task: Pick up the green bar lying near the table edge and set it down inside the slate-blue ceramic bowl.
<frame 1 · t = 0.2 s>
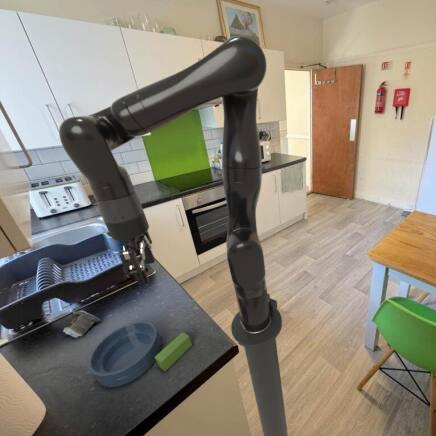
hand: (147, 272, 60), 28 cm above the counter, tool pointing down, fingers open, 8 cm apart
crumpled grey bag: (79, 328, 79), on the counter
bowl: (131, 358, 69), on the counter
bar: (176, 355, 69), on the counter
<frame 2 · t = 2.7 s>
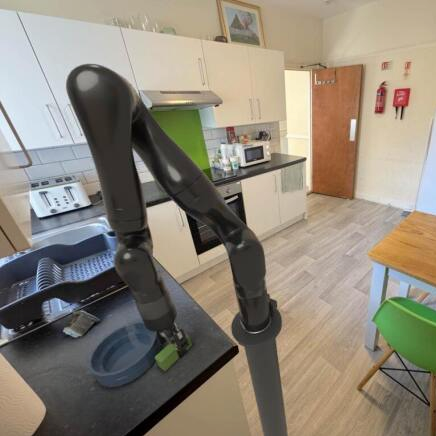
hand: (173, 348, 68), 3 cm above the counter, tool pointing down, fingers open, 8 cm apart
nothing on the counter moved.
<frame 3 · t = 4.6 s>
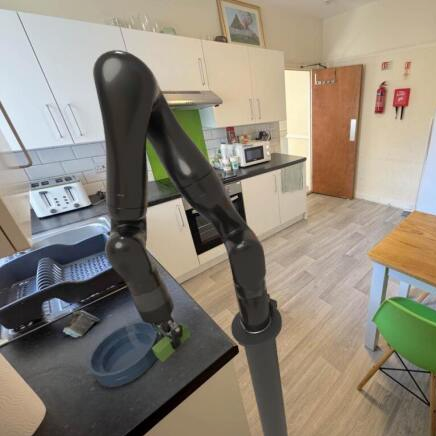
hand: (173, 343, 67), 5 cm above the counter, tool pointing down, fingers closed on bar, 3 cm apart
bar: (174, 345, 67), point 4 cm above the counter, touching gripper
everything else where it was.
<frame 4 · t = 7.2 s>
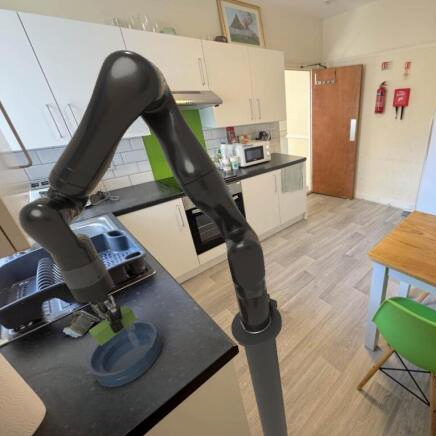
hand: (115, 327, 63), 13 cm above the counter, tool pointing down, fingers closed on bar, 3 cm apart
bar: (117, 329, 63), point 12 cm above the counter, touching gripper
everything else where it was.
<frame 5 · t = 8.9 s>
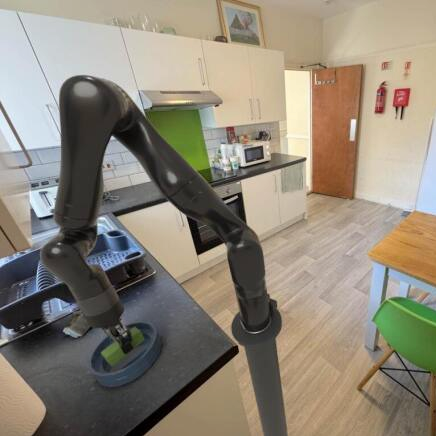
hand: (125, 348, 67), 4 cm above the counter, tool pointing down, fingers closed on bar, 3 cm apart
bar: (126, 350, 67), point 3 cm above the counter, touching gripper
everything else where it was.
when the fingers open (2 cm above the counter, at t = 9.9 s): bar stays where it is, resting on bowl.
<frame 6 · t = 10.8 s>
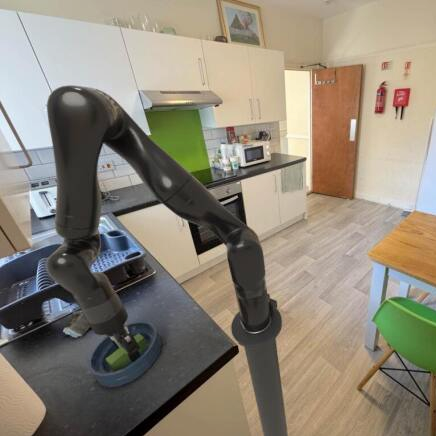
hand: (127, 351, 68), 3 cm above the counter, tool pointing down, fingers open, 8 cm apart
bar: (130, 356, 69), point 1 cm above the counter, touching bowl
everything else where it was.
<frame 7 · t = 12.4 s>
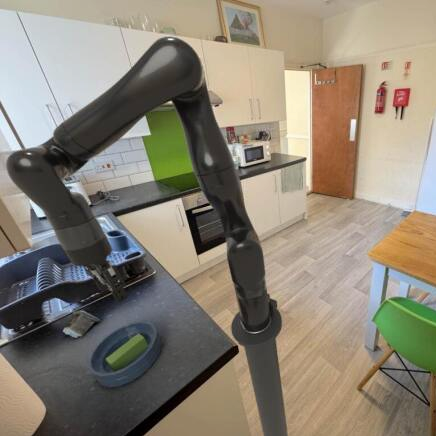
hand: (113, 294, 60), 23 cm above the counter, tool pointing down, fingers open, 8 cm apart
nothing on the counter moved.
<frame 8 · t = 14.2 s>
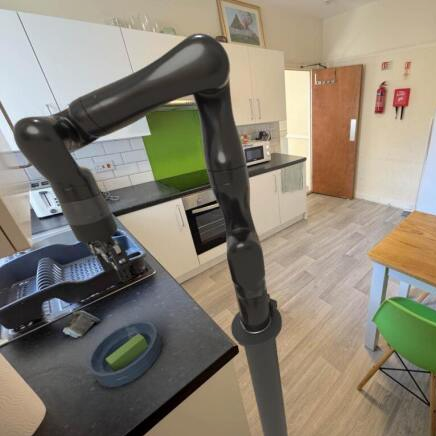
hand: (118, 274, 59), 28 cm above the counter, tool pointing down, fingers open, 8 cm apart
nothing on the counter moved.
at the end: bar inside the target area in the bowl (0.0 cm from its centre), point 0.6 cm above the bowl's base; the gripper is holding nothing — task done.
